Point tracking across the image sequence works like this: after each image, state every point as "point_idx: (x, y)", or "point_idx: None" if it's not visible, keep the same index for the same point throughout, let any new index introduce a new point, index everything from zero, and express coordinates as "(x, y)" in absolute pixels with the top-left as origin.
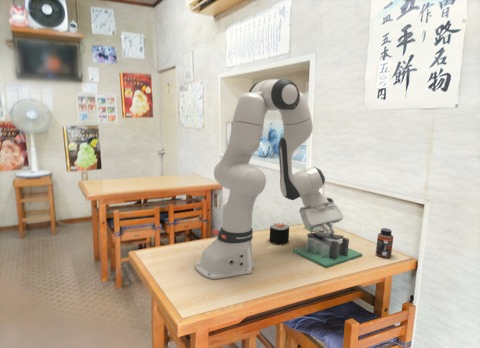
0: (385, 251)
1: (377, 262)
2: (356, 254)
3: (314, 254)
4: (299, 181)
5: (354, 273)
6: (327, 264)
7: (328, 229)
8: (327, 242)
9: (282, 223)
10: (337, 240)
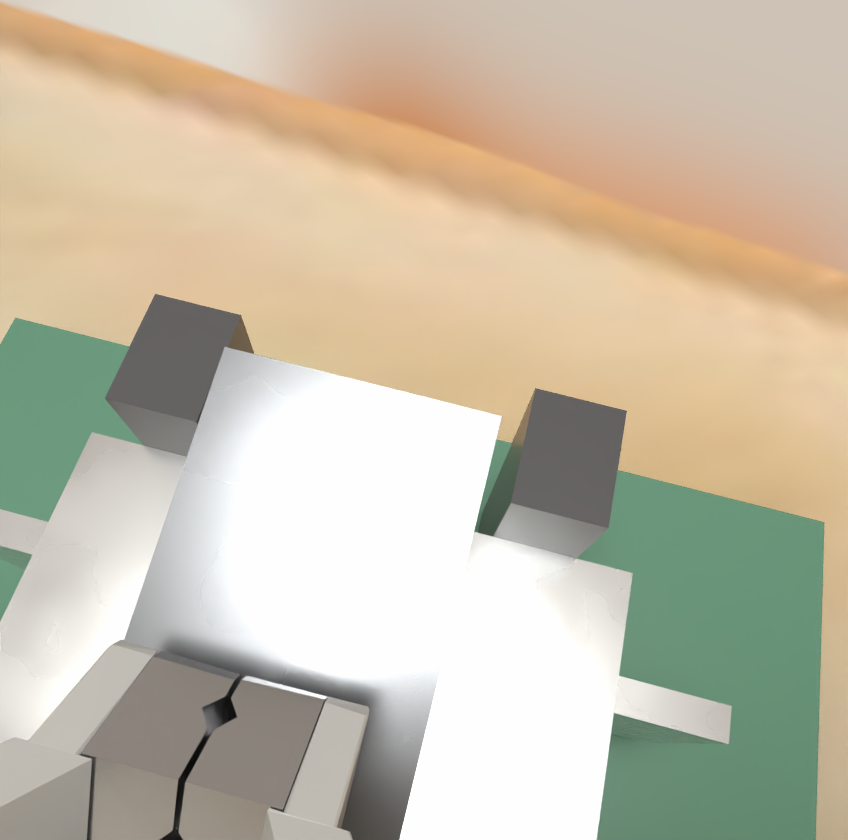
0: None
1: (127, 156)
2: (97, 369)
3: None
4: None
5: (625, 235)
6: (772, 522)
7: (327, 822)
8: (441, 737)
9: None
10: (128, 615)
